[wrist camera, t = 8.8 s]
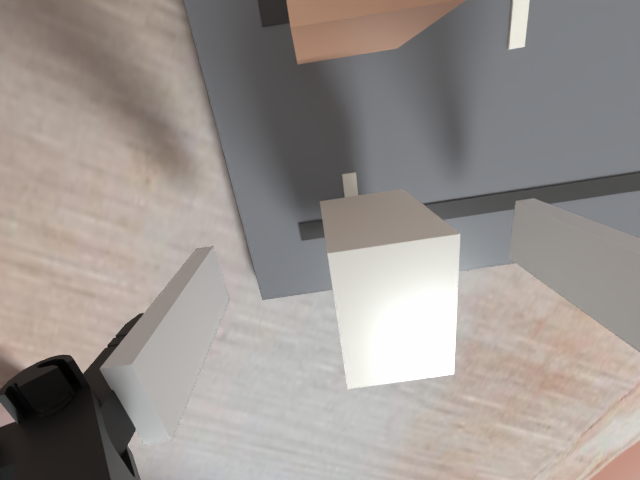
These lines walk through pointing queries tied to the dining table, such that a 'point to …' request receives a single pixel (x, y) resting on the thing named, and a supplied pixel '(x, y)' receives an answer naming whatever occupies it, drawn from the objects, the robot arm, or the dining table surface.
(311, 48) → the fader
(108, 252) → the dining table surface
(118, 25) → the dining table surface
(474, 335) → the dining table surface
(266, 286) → the console
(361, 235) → the block
